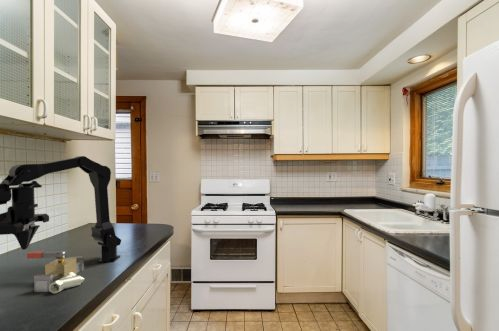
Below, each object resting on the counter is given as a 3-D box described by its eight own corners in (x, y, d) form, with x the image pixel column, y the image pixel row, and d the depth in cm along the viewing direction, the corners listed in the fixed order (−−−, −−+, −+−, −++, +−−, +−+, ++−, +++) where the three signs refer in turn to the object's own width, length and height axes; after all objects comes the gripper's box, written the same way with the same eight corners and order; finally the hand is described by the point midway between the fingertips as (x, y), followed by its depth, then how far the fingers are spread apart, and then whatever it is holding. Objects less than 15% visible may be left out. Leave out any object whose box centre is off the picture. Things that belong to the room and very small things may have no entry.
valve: (69, 269, 102) (69, 248, 102) (86, 269, 102) (85, 248, 102) (31, 292, 84) (31, 267, 84) (52, 291, 84) (51, 266, 84)
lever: (68, 255, 95) (68, 250, 95) (62, 258, 92) (62, 253, 92) (33, 255, 95) (32, 250, 95) (25, 259, 92) (25, 253, 92)
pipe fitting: (85, 283, 91) (66, 282, 91) (86, 272, 91) (67, 271, 91) (70, 295, 83) (48, 293, 83) (70, 283, 83) (49, 281, 83)
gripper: (14, 199, 96) (15, 242, 96) (-29, 208, 77) (-28, 261, 78) (49, 198, 98) (50, 240, 98) (14, 206, 79) (16, 258, 80)
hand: (24, 249), depth 88 cm, fingers closed
